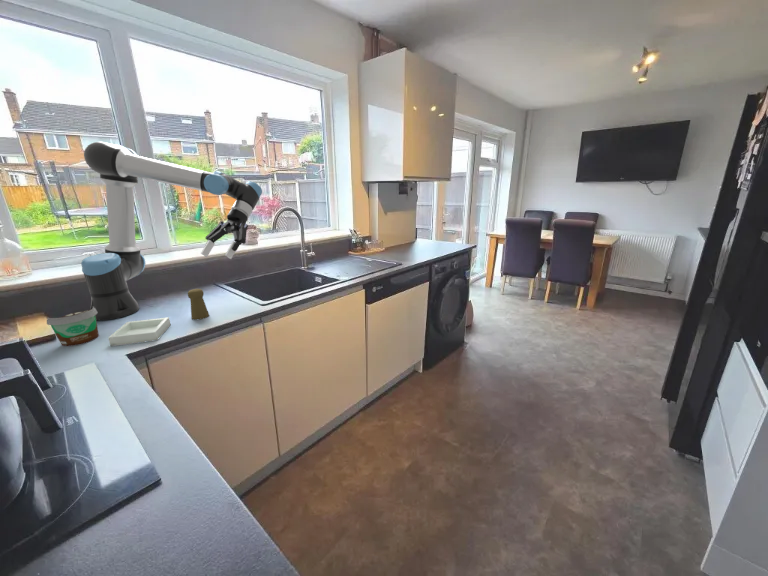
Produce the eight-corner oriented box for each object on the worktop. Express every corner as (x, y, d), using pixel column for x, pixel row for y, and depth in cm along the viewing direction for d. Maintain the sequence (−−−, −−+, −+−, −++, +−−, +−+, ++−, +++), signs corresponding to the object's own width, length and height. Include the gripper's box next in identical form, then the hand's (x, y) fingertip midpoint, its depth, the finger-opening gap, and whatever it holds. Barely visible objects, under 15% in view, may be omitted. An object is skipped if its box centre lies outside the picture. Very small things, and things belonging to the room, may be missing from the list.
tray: (129, 329, 114) (127, 321, 113) (170, 324, 117) (168, 317, 117) (110, 346, 102) (108, 337, 101) (157, 340, 106) (155, 332, 105)
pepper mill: (201, 320, 121) (195, 292, 118) (187, 319, 122) (181, 291, 119) (212, 314, 127) (207, 287, 124) (199, 313, 128) (193, 286, 125)
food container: (61, 351, 99) (51, 321, 96) (55, 347, 102) (44, 317, 99) (110, 336, 109) (102, 308, 106) (103, 332, 112) (94, 305, 109)
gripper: (267, 220, 134) (245, 263, 126) (224, 219, 144) (201, 259, 136) (256, 207, 128) (231, 252, 120) (212, 208, 138) (186, 249, 129)
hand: (215, 256), depth 128 cm, fingers open, 13 cm apart
